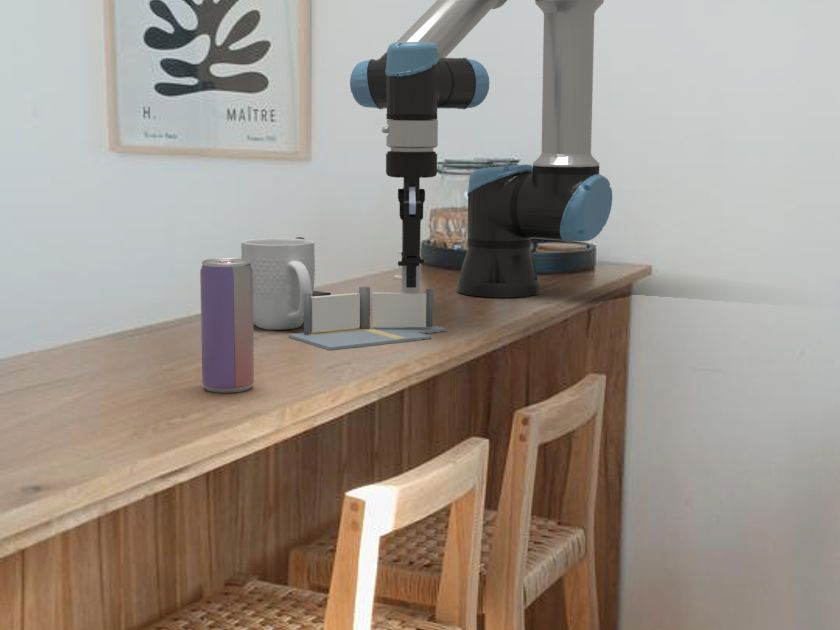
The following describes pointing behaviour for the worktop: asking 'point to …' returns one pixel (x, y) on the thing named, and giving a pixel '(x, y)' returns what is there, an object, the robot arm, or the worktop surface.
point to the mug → (280, 280)
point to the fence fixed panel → (337, 311)
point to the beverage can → (227, 325)
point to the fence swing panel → (403, 309)
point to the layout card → (365, 336)
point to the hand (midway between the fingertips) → (410, 308)
